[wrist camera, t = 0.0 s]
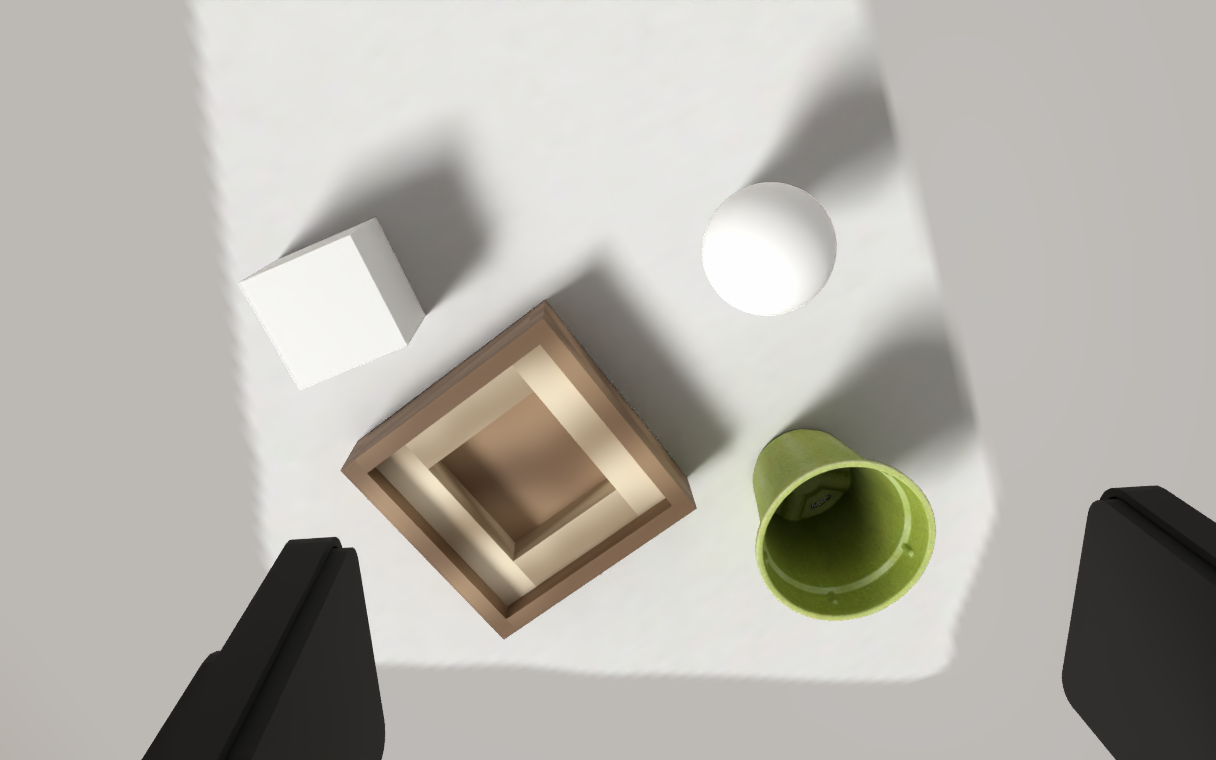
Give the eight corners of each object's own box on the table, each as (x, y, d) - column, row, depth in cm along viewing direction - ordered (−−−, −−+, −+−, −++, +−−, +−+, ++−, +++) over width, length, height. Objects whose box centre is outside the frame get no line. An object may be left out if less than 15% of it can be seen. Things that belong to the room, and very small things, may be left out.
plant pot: (824, 370, 50) (875, 426, 41) (905, 482, 52) (969, 555, 44) (695, 461, 51) (721, 533, 43) (781, 566, 54) (820, 651, 46)
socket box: (357, 441, 50) (340, 470, 46) (544, 300, 47) (543, 318, 44) (508, 600, 54) (503, 639, 50) (686, 477, 51) (696, 508, 48)
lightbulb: (774, 150, 45) (836, 169, 35) (802, 257, 47) (869, 304, 37) (666, 189, 46) (696, 218, 35) (698, 292, 48) (736, 349, 37)
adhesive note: (376, 216, 46) (350, 234, 40) (426, 314, 47) (408, 345, 42) (277, 259, 46) (237, 283, 40) (330, 355, 48) (299, 391, 42)
